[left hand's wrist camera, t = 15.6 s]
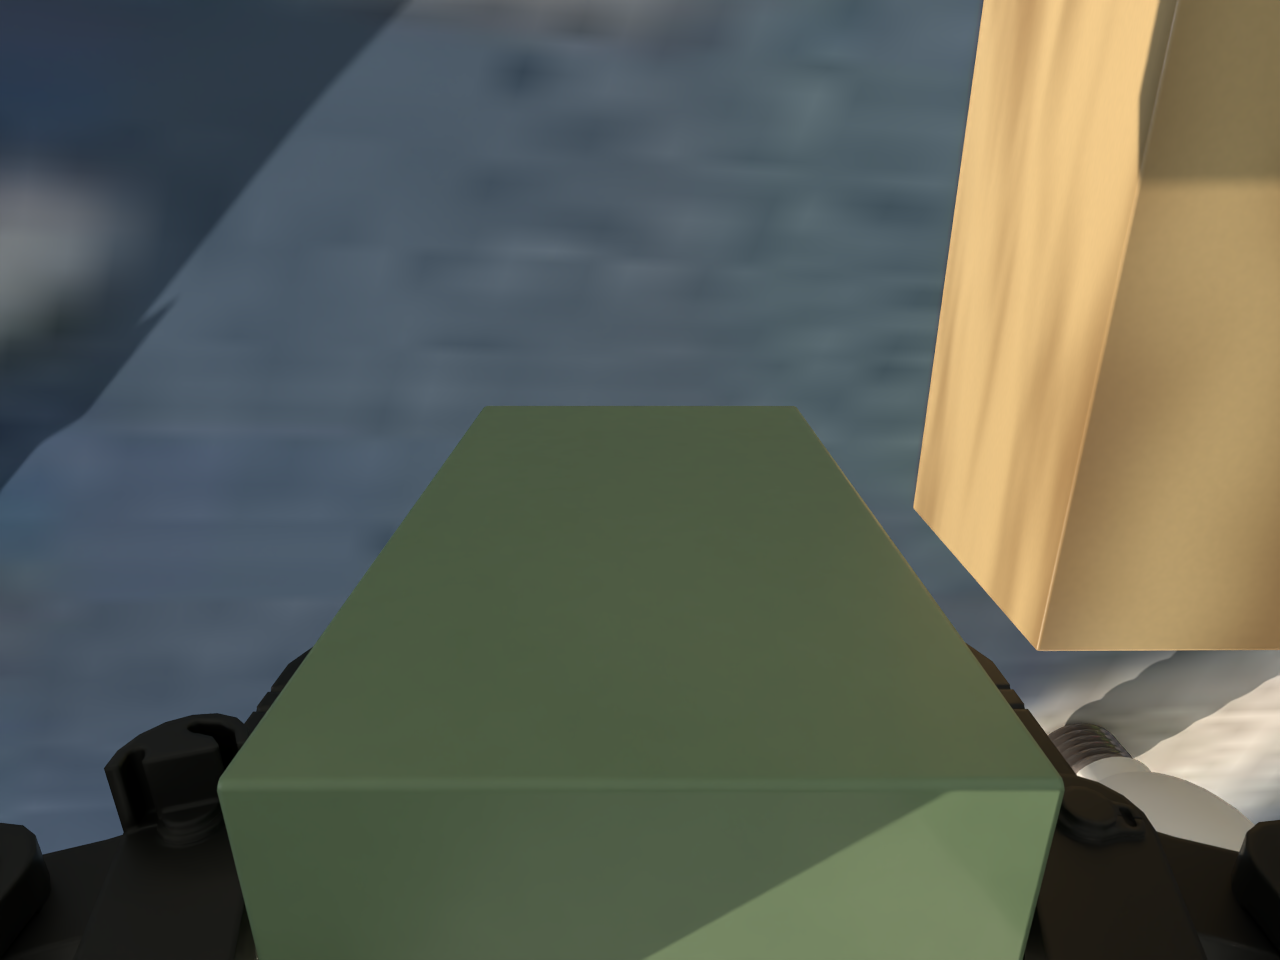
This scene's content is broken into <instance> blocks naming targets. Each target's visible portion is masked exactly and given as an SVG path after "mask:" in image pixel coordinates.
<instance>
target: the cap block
mask: <svg viewBox="0 0 1280 960" xmlns="http://www.w3.org/2000/svg"><path fill="white" fill-rule="evenodd" d="M1064 791H1065V789H1064V783H1063V780H1062V777H1061V776H1060V775H1059V773H1058V772H1057V770H1056V769H1055V768H1054V766H1053V765H1052V763H1051V762H1050V761H1049V759H1048V758H1047V756H1046V755H1045V754H1044V752H1043V751H1042V749H1041V748H1040V747H1039V745H1038V744H1037V742H1036V741H1035V740H1034V738H1033V737H1032V735H1031V734H1030V733H1029V731H1028V730H1027V729H1026V727H1025V726H1024V724H1023V723H1022V722H1021V720H1020V719H1019V717H1018V716H1017V715H1016V713H1015V712H1014V710H1013V709H1012V708H1011V706H1010V705H1009V703H1008V702H1007V701H1006V699H1005V698H1004V696H1003V695H1002V694H1001V692H1000V691H999V689H998V688H997V687H996V685H995V684H994V682H993V681H992V680H991V678H990V677H989V675H988V674H987V673H986V671H985V670H984V669H983V667H982V666H981V664H980V663H979V662H978V660H977V659H976V657H975V656H974V655H973V653H972V652H971V650H970V649H969V648H968V646H967V645H966V643H965V642H964V641H963V639H962V638H961V636H960V635H959V634H958V632H957V631H956V629H955V628H954V627H953V625H952V624H951V622H950V621H949V620H948V618H947V617H946V616H945V614H944V613H943V611H942V610H941V609H940V607H939V606H938V604H937V603H936V602H935V600H934V599H933V597H932V596H931V595H930V593H929V592H928V590H927V589H926V588H925V586H924V585H923V583H922V582H921V581H920V579H919V578H918V576H917V575H916V574H915V572H914V571H913V569H912V568H911V567H910V565H909V564H908V562H907V561H906V560H905V558H904V557H903V556H902V554H901V553H900V551H899V550H898V549H897V547H896V546H895V544H894V543H893V542H892V540H891V539H890V537H889V536H888V535H887V533H886V532H885V530H884V529H883V528H882V526H881V525H880V523H879V522H878V521H877V519H876V518H875V516H874V515H873V514H872V512H871V511H870V509H869V508H868V507H867V505H866V504H865V502H864V501H863V500H862V498H861V497H860V496H859V494H858V493H857V491H856V490H855V489H854V487H853V486H852V484H851V483H850V482H849V480H848V479H847V477H846V476H845V475H844V473H843V472H842V470H841V469H840V468H839V466H838V465H837V463H836V462H835V461H834V459H833V458H832V456H831V455H830V454H829V452H828V451H827V449H826V448H825V447H824V445H823V444H822V443H821V441H820V440H819V438H818V437H817V436H816V434H815V433H814V431H813V430H812V429H811V427H810V426H809V424H808V423H807V422H806V420H805V419H804V417H803V416H802V415H801V413H800V412H799V410H798V409H797V408H796V407H794V406H486V407H484V408H483V410H482V411H481V412H480V414H479V415H478V417H477V418H476V419H475V421H474V422H473V424H472V425H471V426H470V428H469V429H468V431H467V432H466V433H465V435H464V436H463V438H462V439H461V440H460V442H459V443H458V445H457V446H456V447H455V449H454V450H453V452H452V453H451V454H450V456H449V457H448V459H447V460H446V461H445V463H444V464H443V466H442V467H441V468H440V470H439V471H438V473H437V474H436V475H435V477H434V478H433V480H432V481H431V482H430V484H429V485H428V487H427V488H426V489H425V491H424V492H423V494H422V495H421V496H420V498H419V499H418V501H417V502H416V503H415V505H414V506H413V508H412V509H411V510H410V512H409V513H408V515H407V516H406V517H405V519H404V520H403V522H402V523H401V524H400V526H399V527H398V529H397V530H396V531H395V533H394V534H393V536H392V537H391V538H390V540H389V541H388V543H387V544H386V545H385V547H384V548H383V550H382V551H381V553H380V554H379V555H378V557H377V558H376V560H375V561H374V562H373V564H372V565H371V567H370V568H369V569H368V571H367V572H366V574H365V575H364V576H363V578H362V579H361V581H360V582H359V583H358V585H357V586H356V588H355V589H354V590H353V592H352V593H351V595H350V596H349V597H348V599H347V600H346V602H345V603H344V604H343V606H342V607H341V609H340V610H339V611H338V613H337V614H336V616H335V617H334V618H333V620H332V621H331V623H330V624H329V625H328V627H327V628H326V630H325V631H324V632H323V634H322V635H321V637H320V638H319V639H318V641H317V642H316V644H315V645H314V646H313V648H312V649H311V651H310V652H309V653H308V655H307V656H306V658H305V659H304V660H303V662H302V663H301V665H300V666H299V667H298V669H297V670H296V672H295V673H294V674H293V676H292V677H291V679H290V680H289V681H288V683H287V684H286V686H285V687H284V688H283V690H282V691H281V693H280V694H279V695H278V697H277V698H276V700H275V701H274V703H273V704H272V705H271V707H270V708H269V710H268V711H267V712H266V714H265V715H264V717H263V718H262V719H261V721H260V722H259V724H258V725H257V726H256V728H255V729H254V731H253V732H252V733H251V735H250V736H249V738H248V739H247V740H246V742H245V743H244V745H243V746H242V747H241V749H240V750H239V752H238V753H237V754H236V756H235V757H234V759H233V760H232V761H231V763H230V764H229V766H228V767H227V768H226V770H225V771H224V773H223V774H222V775H221V777H220V778H219V782H218V786H217V793H218V797H219V801H220V805H221V809H222V813H223V817H224V821H225V825H226V829H227V833H228V837H229V841H230V845H231V849H232V853H233V858H234V862H235V866H236V870H237V874H238V878H239V882H240V886H241V890H242V894H243V898H244V902H245V906H246V910H247V914H248V918H249V922H250V926H251V930H252V934H253V938H254V942H255V946H256V950H257V955H258V959H259V960H1023V956H1024V952H1025V948H1026V944H1027V940H1028V936H1029V932H1030V928H1031V924H1032V920H1033V916H1034V912H1035V908H1036V904H1037V900H1038V896H1039V892H1040V888H1041V884H1042V880H1043V876H1044V872H1045V868H1046V864H1047V860H1048V856H1049V852H1050V848H1051V844H1052V840H1053V836H1054V832H1055V828H1056V824H1057V820H1058V816H1059V812H1060V808H1061V804H1062V799H1063V795H1064Z"/></svg>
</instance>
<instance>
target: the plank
mask: <svg viewBox="0 0 1280 960" xmlns="http://www.w3.org/2000/svg"><path fill="white" fill-rule="evenodd" d="M914 509H915V510H916V511H917V513H918V514H919V515H920V516H921V517H922V518H923V519H924V521H925V522H926V523H927V524H928V525H929V526H930V528H931V529H932V530H933V531H934V532H935V533H936V534H937V536H938V537H939V538H940V539H941V540H942V541H943V543H944V544H945V545H946V546H947V547H948V548H949V549H950V551H951V552H952V553H953V554H954V555H955V556H956V558H957V559H958V560H959V561H960V562H961V563H962V564H963V566H964V567H965V568H966V569H967V570H968V571H969V573H970V574H971V575H972V576H973V577H974V578H975V579H976V581H977V582H978V583H979V584H980V585H981V586H982V588H983V589H984V590H985V591H986V592H987V593H988V594H989V596H990V597H991V598H992V599H993V600H994V601H995V603H996V604H997V605H998V606H999V607H1000V608H1001V609H1002V611H1003V612H1004V613H1005V614H1006V615H1007V616H1008V618H1009V619H1010V620H1011V621H1012V622H1013V623H1014V624H1015V626H1016V627H1017V628H1018V629H1019V630H1020V631H1021V633H1022V634H1023V635H1024V636H1025V637H1026V638H1027V639H1028V641H1029V642H1030V643H1031V644H1032V645H1033V646H1034V648H1035V649H1036V650H1039V651H1090V650H1280V0H984V4H983V11H982V18H981V25H980V32H979V40H978V47H977V54H976V61H975V68H974V76H973V83H972V90H971V97H970V104H969V112H968V119H967V126H966V133H965V140H964V148H963V155H962V162H961V169H960V176H959V184H958V191H957V198H956V205H955V212H954V220H953V227H952V234H951V241H950V248H949V255H948V263H947V270H946V277H945V284H944V291H943V299H942V306H941V313H940V320H939V327H938V335H937V342H936V349H935V356H934V363H933V371H932V378H931V385H930V392H929V399H928V407H927V414H926V421H925V428H924V435H923V443H922V450H921V457H920V464H919V471H918V479H917V486H916V493H915V500H914Z"/></svg>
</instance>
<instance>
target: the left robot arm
mask: <svg viewBox="0 0 1280 960" xmlns="http://www.w3.org/2000/svg"><path fill="white" fill-rule="evenodd" d="M966 645H967V646H968V648H969V649H970V650H971V652H972V653H973V655H974V656H975V657H976V659H977V660H978V662H979V663H980V664H981V666H982V667H983V669H984V670H985V671H986V673H987V674H988V675H989V677H990V678H991V680H992V681H993V682H994V684H995V685H996V687H997V688H998V689H999V691H1000V692H1001V694H1002V695H1003V696H1004V698H1005V699H1006V701H1007V702H1008V703H1009V705H1010V706H1011V708H1012V709H1013V710H1014V712H1015V713H1016V715H1017V716H1018V717H1019V719H1020V720H1021V722H1022V723H1023V724H1024V726H1025V727H1026V729H1027V730H1028V731H1029V733H1030V734H1031V735H1032V737H1033V738H1034V740H1035V741H1036V742H1037V744H1038V745H1039V747H1040V748H1041V749H1042V751H1043V752H1044V754H1045V755H1046V756H1047V758H1048V759H1049V761H1050V762H1051V763H1052V765H1053V766H1054V768H1055V769H1056V770H1057V772H1058V773H1059V775H1060V776H1061V777H1062V780H1063V783H1064V789H1065V791H1064V795H1063V799H1062V804H1061V808H1060V812H1059V816H1058V820H1057V824H1056V828H1055V832H1054V836H1053V840H1052V844H1051V848H1050V852H1049V856H1048V860H1047V864H1046V868H1045V872H1044V876H1043V880H1042V884H1041V888H1040V892H1039V896H1038V900H1037V904H1036V908H1035V912H1034V916H1033V920H1032V924H1031V928H1030V932H1029V936H1028V940H1027V944H1026V948H1025V952H1024V956H1023V960H1280V820H1275V821H1266V822H1259V823H1257V824H1256V825H1255V826H1254V827H1252V828H1251V829H1250V830H1248V831H1247V832H1246V835H1245V838H1244V841H1243V843H1242V846H1241V849H1240V851H1239V852H1238V851H1234V850H1229V849H1225V848H1221V847H1217V846H1212V845H1208V844H1204V843H1199V842H1195V841H1191V840H1186V839H1182V838H1178V837H1174V836H1171V835H1167V834H1164V833H1161V832H1157V831H1156V830H1155V829H1154V827H1153V826H1152V824H1151V823H1150V821H1149V819H1148V818H1147V816H1146V815H1145V813H1144V812H1143V811H1141V810H1140V809H1139V808H1138V807H1137V806H1135V805H1134V804H1133V803H1132V802H1131V801H1130V800H1128V799H1127V798H1126V797H1125V796H1124V795H1122V794H1120V793H1118V792H1116V791H1114V790H1112V789H1111V788H1109V787H1107V786H1105V785H1103V784H1101V783H1099V782H1096V781H1093V780H1090V779H1087V778H1083V777H1080V776H1077V774H1076V773H1075V772H1074V770H1073V769H1072V768H1071V766H1070V765H1069V764H1068V762H1067V761H1066V760H1065V758H1064V757H1063V756H1062V754H1061V753H1060V752H1059V750H1058V749H1057V748H1056V746H1055V745H1054V744H1053V742H1052V741H1051V740H1050V738H1049V737H1048V736H1047V734H1046V733H1045V731H1044V730H1043V729H1042V727H1041V726H1040V725H1039V723H1038V722H1037V721H1036V719H1035V718H1034V717H1033V715H1032V714H1031V713H1030V711H1029V710H1028V709H1025V708H1024V703H1023V702H1022V701H1021V699H1020V698H1019V697H1018V695H1017V694H1016V693H1015V691H1014V690H1010V684H1009V683H1008V682H1007V680H1006V679H1005V678H1004V676H1003V675H1002V674H1001V672H1000V671H999V670H998V668H997V667H996V666H995V664H994V663H993V662H992V661H991V660H989V659H988V658H987V657H985V656H984V655H982V654H981V653H979V652H978V651H977V650H975V649H974V648H972V647H971V646H969V645H968V644H966ZM312 648H313V647H312ZM312 648H311V649H312ZM311 649H309V650H308V651H306V652H305V653H304V654H302V655H301V656H299V657H298V658H296V659H295V660H294V661H292V662H291V663H289V664H288V665H287V667H286V668H285V669H284V671H283V672H282V673H281V675H280V676H279V678H278V679H277V680H276V682H275V683H274V684H273V686H272V687H271V692H267V694H266V695H265V696H264V698H263V699H262V701H261V702H260V703H259V705H258V706H257V711H256V712H253V713H252V714H251V715H250V717H249V718H248V719H247V721H246V722H245V724H244V723H242V722H241V721H240V720H239V719H238V718H236V717H232V716H227V715H223V714H218V713H214V714H199V715H191V716H187V717H183V718H180V719H176V720H172V721H168V722H165V723H163V724H161V725H159V726H157V727H154V728H152V729H150V730H148V731H146V732H144V733H142V734H140V735H138V736H137V737H135V738H134V739H133V740H131V741H130V742H129V743H127V744H126V745H125V746H123V747H122V748H121V749H119V750H118V751H117V752H116V753H115V755H114V756H113V757H112V759H111V760H110V761H109V762H108V764H107V765H106V766H105V768H104V770H105V773H106V776H107V780H108V783H109V786H110V789H111V792H112V796H113V799H114V802H115V805H116V809H117V812H118V815H119V818H120V821H121V825H122V828H123V831H124V833H123V835H121V836H117V837H114V838H111V839H107V840H103V841H99V842H95V843H91V844H86V845H82V846H78V847H74V848H69V849H65V850H61V851H56V852H52V853H48V854H44V855H42V852H41V850H40V847H39V844H38V841H37V839H36V836H35V835H34V834H33V833H32V832H31V831H29V830H28V829H27V828H26V827H24V826H23V825H15V824H6V823H0V960H259V959H258V955H257V950H256V946H255V942H254V938H253V934H252V930H251V926H250V922H249V918H248V914H247V910H246V906H245V902H244V898H243V894H242V890H241V886H240V882H239V878H238V874H237V870H236V866H235V862H234V858H233V853H232V849H231V845H230V841H229V837H228V833H227V829H226V825H225V821H224V817H223V813H222V809H221V805H220V801H219V797H218V793H217V786H218V782H219V778H220V777H221V775H222V774H223V773H224V771H225V770H226V768H227V767H228V766H229V764H230V763H231V761H232V760H233V759H234V757H235V756H236V754H237V753H238V752H239V750H240V749H241V747H242V746H243V745H244V743H245V742H246V740H247V739H248V738H249V736H250V735H251V733H252V732H253V731H254V729H255V728H256V726H257V725H258V724H259V722H260V721H261V719H262V718H263V717H264V715H265V714H266V712H267V711H268V710H269V708H270V707H271V705H272V704H273V703H274V701H275V700H276V698H277V697H278V695H279V694H280V693H281V691H282V690H283V688H284V687H285V686H286V684H287V683H288V681H289V680H290V679H291V677H292V676H293V674H294V673H295V672H296V670H297V669H298V667H299V666H300V665H301V663H302V662H303V660H304V659H305V658H306V656H307V655H308V653H309V652H310V651H311Z"/></svg>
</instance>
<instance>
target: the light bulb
mask: <svg viewBox="0 0 1280 960" xmlns="http://www.w3.org/2000/svg"><path fill="white" fill-rule="evenodd" d="M1048 737H1049V738H1050V740H1051V741H1052V742H1053V744H1054V745H1055V746H1056V748H1057V749H1058V750H1059V752H1060V753H1061V754H1062V756H1063V757H1064V758H1065V760H1066V761H1067V762H1068V764H1069V765H1070V766H1071V768H1072V769H1073V770H1074V772H1075V773H1076V774H1077V776H1080V777H1083V778H1087V779H1090V780H1093V781H1096V782H1099V783H1101V784H1103V785H1105V786H1107V787H1109V788H1111V789H1112V790H1114V791H1116V792H1118V793H1120V794H1122V795H1124V796H1125V797H1126V798H1127V799H1128V800H1130V801H1131V802H1132V803H1133V804H1134V805H1135V806H1137V807H1138V808H1139V809H1140V810H1141V811H1143V812H1144V813H1145V815H1146V816H1147V818H1148V819H1149V821H1150V823H1151V824H1152V826H1153V827H1154V829H1155V830H1156V831H1157V832H1161V833H1164V834H1167V835H1171V836H1174V837H1178V838H1182V839H1186V840H1191V841H1195V842H1199V843H1204V844H1208V845H1212V846H1217V847H1221V848H1225V849H1229V850H1234V851H1238V852H1239V851H1240V849H1241V846H1242V843H1243V841H1244V838H1245V835H1246V832H1247V831H1248V830H1250V829H1251V828H1252V827H1254V826H1255V825H1254V824H1253V823H1252V822H1251V821H1250V820H1248V819H1247V818H1246V817H1245V816H1244V815H1243V814H1242V813H1241V812H1239V811H1238V810H1237V809H1236V808H1234V807H1233V806H1231V805H1230V804H1228V803H1227V802H1225V801H1224V800H1222V799H1221V798H1219V797H1218V796H1216V795H1214V794H1213V793H1211V792H1209V791H1207V790H1206V789H1204V788H1202V787H1199V786H1197V785H1195V784H1193V783H1190V782H1188V781H1186V780H1183V779H1180V778H1177V777H1173V776H1169V775H1165V774H1160V773H1155V772H1151V771H1150V770H1149V769H1148V768H1147V767H1146V766H1145V765H1144V764H1143V763H1141V762H1139V761H1138V760H1135V759H1133V758H1132V757H1131V756H1130V754H1129V753H1128V752H1127V751H1126V750H1125V749H1124V748H1123V747H1122V746H1121V744H1120V743H1119V742H1118V741H1117V740H1116V738H1115V737H1114V736H1113V735H1112V734H1111V733H1110V732H1108V731H1107V730H1105V729H1103V728H1101V727H1099V726H1096V725H1092V724H1073V725H1068V726H1065V727H1062V728H1060V729H1058V730H1056V731H1054V732H1052V733H1051V734H1049V735H1048Z"/></svg>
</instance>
